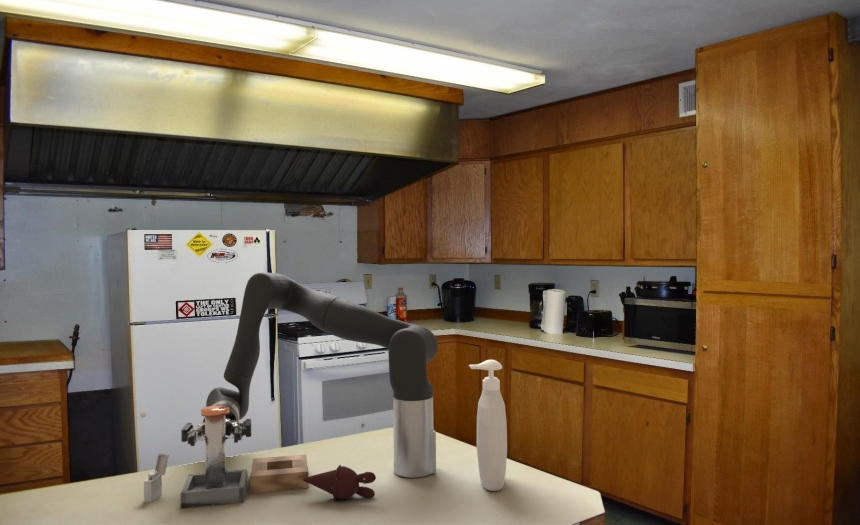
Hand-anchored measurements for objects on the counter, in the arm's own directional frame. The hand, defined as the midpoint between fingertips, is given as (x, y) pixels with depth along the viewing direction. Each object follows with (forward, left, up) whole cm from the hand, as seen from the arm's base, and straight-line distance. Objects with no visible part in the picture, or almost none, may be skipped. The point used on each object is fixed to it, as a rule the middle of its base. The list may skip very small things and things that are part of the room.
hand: (214, 439), depth 125 cm
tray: (0, -2, -12) cm, 12 cm away
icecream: (-25, +7, -12) cm, 29 cm away
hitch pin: (0, -2, -11) cm, 11 cm away
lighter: (+12, -5, -12) cm, 18 cm away
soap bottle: (-57, +7, -12) cm, 59 cm away
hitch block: (-13, -7, -12) cm, 19 cm away
